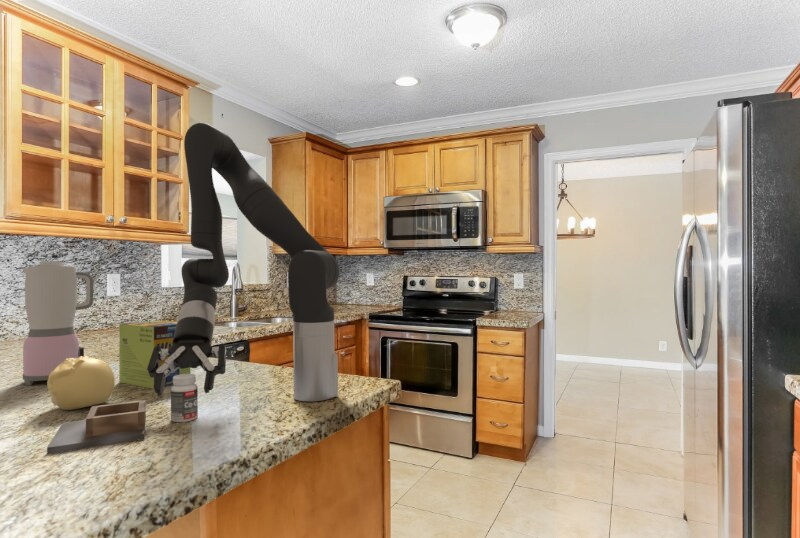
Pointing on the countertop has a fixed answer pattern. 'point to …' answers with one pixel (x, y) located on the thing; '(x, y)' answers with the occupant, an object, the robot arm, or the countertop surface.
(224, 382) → the countertop surface
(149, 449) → the countertop surface
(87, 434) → the socket dock
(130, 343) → the protein box
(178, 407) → the pill bottle
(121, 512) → the countertop surface
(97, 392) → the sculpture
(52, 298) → the blender
